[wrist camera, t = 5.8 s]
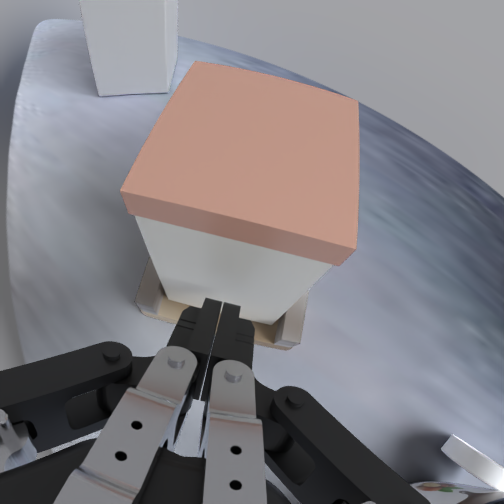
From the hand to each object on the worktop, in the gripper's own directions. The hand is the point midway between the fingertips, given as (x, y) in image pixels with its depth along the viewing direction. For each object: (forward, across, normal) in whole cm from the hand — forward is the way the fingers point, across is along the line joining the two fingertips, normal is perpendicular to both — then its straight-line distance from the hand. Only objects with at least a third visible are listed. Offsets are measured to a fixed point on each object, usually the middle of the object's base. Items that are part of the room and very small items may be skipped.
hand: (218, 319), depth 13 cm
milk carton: (+20, +14, -11) cm, 27 cm away
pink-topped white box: (+6, 0, 0) cm, 6 cm away
